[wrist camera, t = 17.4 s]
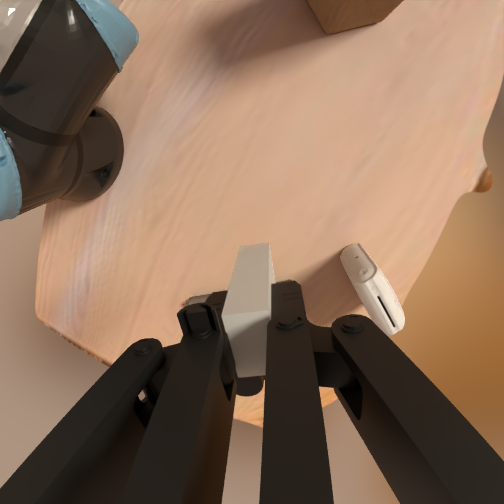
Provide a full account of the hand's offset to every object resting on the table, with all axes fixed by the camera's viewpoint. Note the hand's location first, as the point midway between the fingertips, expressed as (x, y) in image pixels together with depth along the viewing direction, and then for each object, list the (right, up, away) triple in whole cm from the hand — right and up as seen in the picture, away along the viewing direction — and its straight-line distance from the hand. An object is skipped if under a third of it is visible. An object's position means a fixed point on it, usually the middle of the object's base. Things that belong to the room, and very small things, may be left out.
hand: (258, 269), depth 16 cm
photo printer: (+16, -2, +30) cm, 35 cm away
